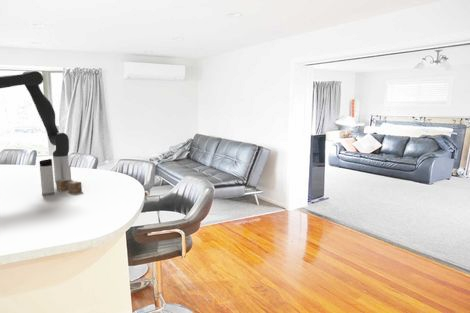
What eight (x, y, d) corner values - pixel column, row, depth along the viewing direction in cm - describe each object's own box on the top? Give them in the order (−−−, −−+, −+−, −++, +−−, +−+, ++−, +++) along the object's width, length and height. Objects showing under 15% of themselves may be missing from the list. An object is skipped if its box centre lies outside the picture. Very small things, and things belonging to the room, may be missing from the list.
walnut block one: (76, 191, 194) (75, 181, 193) (81, 192, 192) (81, 181, 191) (68, 192, 190) (68, 182, 189) (73, 193, 187) (73, 183, 187)
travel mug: (57, 193, 189) (54, 159, 187) (47, 195, 183) (44, 160, 181) (49, 192, 191) (46, 158, 189) (39, 194, 185) (36, 160, 183)
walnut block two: (64, 188, 200) (63, 179, 199) (69, 189, 198) (68, 179, 197) (56, 190, 196) (55, 180, 195) (61, 191, 193) (60, 181, 193)
